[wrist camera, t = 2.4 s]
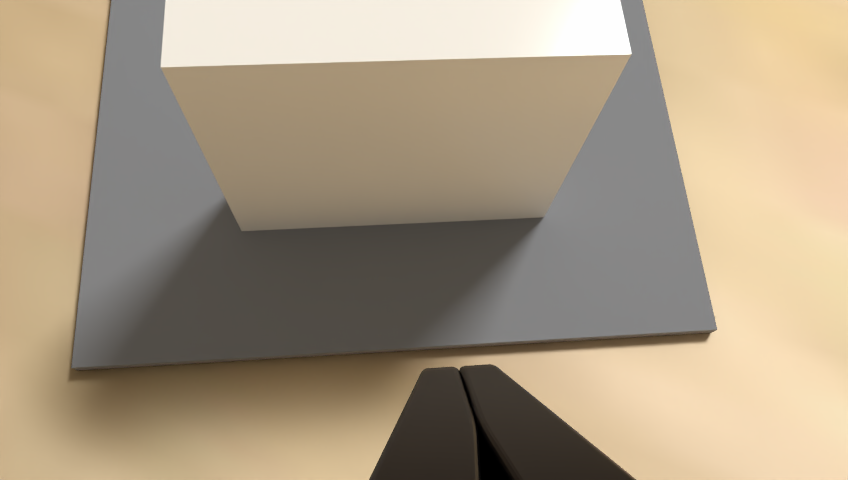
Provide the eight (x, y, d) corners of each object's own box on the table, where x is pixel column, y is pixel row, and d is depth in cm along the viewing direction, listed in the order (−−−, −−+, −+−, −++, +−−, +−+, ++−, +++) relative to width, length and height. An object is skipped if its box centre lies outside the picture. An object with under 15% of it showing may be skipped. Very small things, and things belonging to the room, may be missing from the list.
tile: (543, 217, 24) (631, 54, 15) (241, 231, 23) (160, 67, 15) (536, 164, 24) (615, -20, 16) (243, 175, 24) (166, -11, 15)
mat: (711, 332, 23) (717, 329, 23) (76, 370, 21) (71, 367, 21) (609, -125, 30) (612, -133, 30) (128, -121, 29) (125, -129, 28)
